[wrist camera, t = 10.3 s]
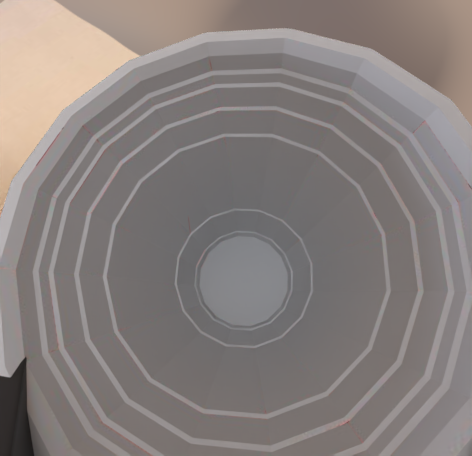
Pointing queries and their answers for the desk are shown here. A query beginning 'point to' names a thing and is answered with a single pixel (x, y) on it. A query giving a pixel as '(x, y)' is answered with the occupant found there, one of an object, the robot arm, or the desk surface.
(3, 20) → the desk surface
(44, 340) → the plastic cup
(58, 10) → the desk surface
